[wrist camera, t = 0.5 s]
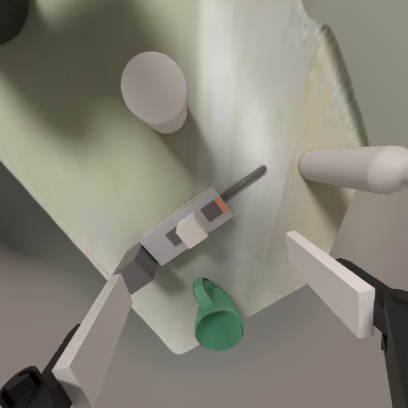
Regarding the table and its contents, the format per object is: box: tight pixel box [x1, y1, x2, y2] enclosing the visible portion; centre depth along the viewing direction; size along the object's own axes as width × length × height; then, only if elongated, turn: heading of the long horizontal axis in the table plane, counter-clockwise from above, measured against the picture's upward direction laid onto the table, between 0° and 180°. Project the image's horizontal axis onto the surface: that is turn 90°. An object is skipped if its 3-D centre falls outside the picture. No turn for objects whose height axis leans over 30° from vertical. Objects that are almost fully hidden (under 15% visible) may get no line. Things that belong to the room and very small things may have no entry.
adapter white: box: [176, 212, 208, 249], centre depth 35 cm, size 4×4×4 cm
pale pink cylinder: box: [121, 51, 187, 134], centre depth 30 cm, size 8×8×12 cm
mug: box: [193, 278, 245, 351], centre depth 41 cm, size 15×10×10 cm
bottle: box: [299, 146, 408, 194], centre depth 27 cm, size 7×7×28 cm
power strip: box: [139, 165, 266, 266], centre depth 38 cm, size 7×29×5 cm, turn 126°
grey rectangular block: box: [113, 242, 158, 295], centre depth 38 cm, size 5×8×9 cm, turn 126°
